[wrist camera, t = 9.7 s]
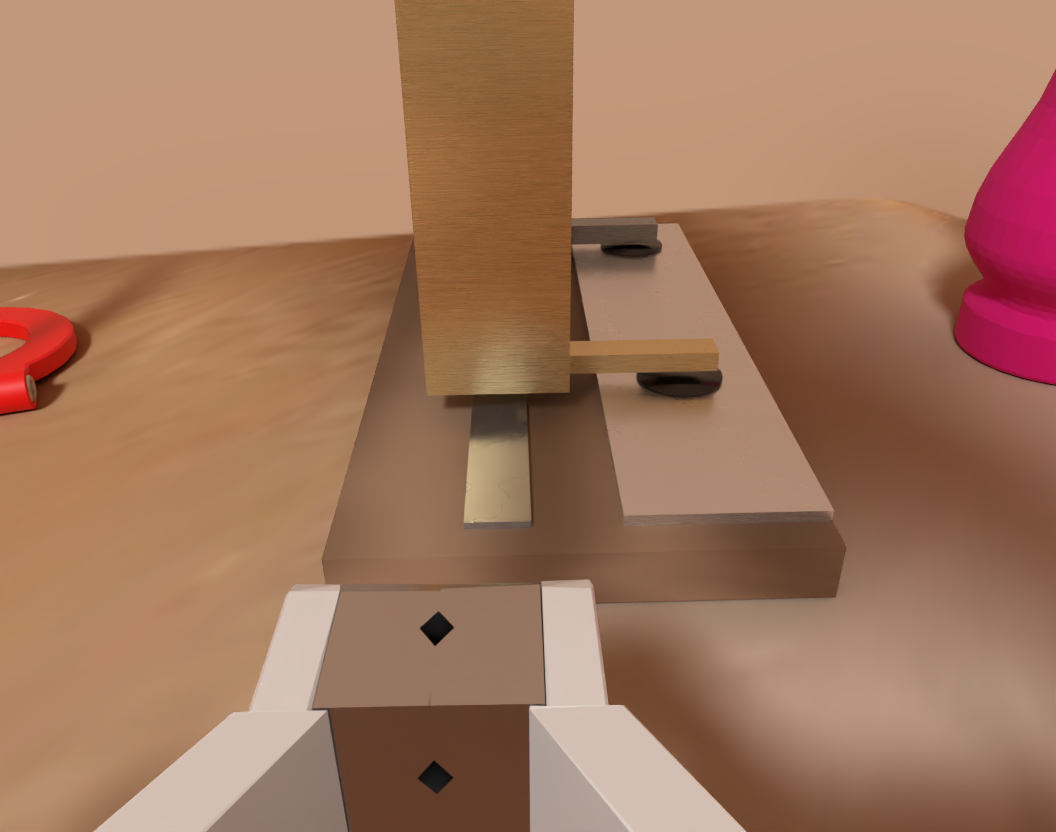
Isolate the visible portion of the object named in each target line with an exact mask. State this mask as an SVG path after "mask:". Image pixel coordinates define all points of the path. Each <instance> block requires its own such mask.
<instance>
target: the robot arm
mask: <svg viewBox="0 0 1056 832" xmlns="http://www.w3.org/2000/svg"><path fill="white" fill-rule="evenodd" d="M93 832H747V831H746V830H745V829H744V828H743V827H742V826H741V825H740V824H739V823H738V822H737V821H736V820H735V819H734V818H733V817H732V816H731V815H730V814H729V813H728V812H727V811H726V810H725V809H724V808H723V807H722V806H721V805H720V804H719V802H718V801H717V800H716V799H715V798H714V797H713V796H712V795H711V794H710V793H709V792H708V791H707V790H706V789H705V788H704V787H703V786H702V785H701V784H700V783H699V782H698V781H697V780H696V779H695V778H694V777H693V776H692V775H691V773H690V772H689V771H688V770H687V769H686V768H685V767H684V766H683V765H682V764H681V763H680V762H679V761H678V760H677V759H676V758H675V757H674V756H673V755H672V754H671V753H670V752H669V751H668V750H667V749H666V748H665V747H664V746H663V745H662V743H661V742H660V741H659V740H658V739H657V738H656V737H655V736H654V735H653V734H652V733H651V732H650V731H649V730H648V729H647V728H646V727H645V726H644V725H643V724H642V723H641V722H640V721H639V720H638V719H637V718H636V717H635V716H634V714H633V713H632V712H631V711H630V710H629V709H628V708H627V707H626V706H625V705H609V703H608V696H607V688H606V680H605V672H604V664H603V657H602V649H601V641H600V633H599V625H598V618H597V610H596V602H595V594H594V587H593V584H592V583H591V582H590V580H589V579H586V580H559V581H541V585H540V583H539V582H525V583H482V584H345V585H317V584H295V585H294V586H293V587H292V589H291V590H290V591H289V592H288V594H287V595H286V597H285V601H284V604H283V607H282V610H281V613H280V616H279V619H278V622H277V625H276V628H275V631H274V634H273V637H272V640H271V644H270V647H269V650H268V653H267V656H266V659H265V662H264V665H263V668H262V671H261V674H260V677H259V680H258V683H257V686H256V690H255V693H254V696H253V699H252V702H251V705H250V708H249V711H248V712H232V713H231V714H230V715H229V716H227V717H226V718H225V719H224V720H223V721H222V722H220V723H219V724H218V725H217V726H216V727H215V728H213V729H212V730H211V731H210V732H209V733H208V734H206V735H205V736H204V737H203V738H202V739H201V740H199V741H198V742H197V743H196V744H195V745H194V746H192V747H191V748H190V749H189V750H188V751H187V752H185V753H184V754H183V755H182V756H181V757H180V758H178V759H177V760H176V761H175V762H174V763H173V764H171V765H170V766H169V767H168V768H167V769H166V770H164V771H163V772H162V773H161V774H160V775H159V776H157V777H156V778H155V779H154V780H153V781H152V782H150V783H149V784H148V785H147V786H146V787H145V788H143V789H142V790H141V791H140V792H139V793H138V794H136V795H135V796H134V797H133V798H132V799H131V800H129V801H128V802H127V803H126V804H125V805H124V806H122V807H121V808H120V809H119V810H118V811H117V812H115V813H114V814H113V815H112V816H111V817H110V818H108V819H107V820H106V821H105V822H104V823H103V824H101V825H100V826H99V827H98V828H97V829H96V830H94V831H93Z"/></svg>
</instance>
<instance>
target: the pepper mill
mask: <svg viewBox="0 0 1056 832" xmlns="http://www.w3.org/2000/svg"><path fill="white" fill-rule="evenodd" d="M964 237H965V242H966V247H967V249H968V251H969V253H970V255H971V257H972V259H973V261H974V263H975V264H976V266H977V267H978V269H979V270H980V272H981V274H982V275H983V278H984V279H982V280H979V281H977V282H975V283H973V284H972V285H970V286H969V287H968V288H967V289H966V290H965V292H964V295H963V299H962V303H961V307H960V311H959V315H958V319H957V323H956V327H955V336H956V339H957V341H958V343H959V344H960V346H961V347H962V348H963V349H964V351H966V352H967V353H968V354H970V355H971V356H972V357H974V358H975V359H977V360H979V361H980V362H982V363H984V364H986V365H988V366H990V367H992V368H995V369H997V370H1000V371H1003V372H1006V373H1009V374H1011V375H1015V376H1018V377H1022V378H1025V379H1029V380H1033V381H1037V382H1043V383H1049V384H1055V385H1056V70H1055V72H1054V73H1053V76H1052V78H1051V79H1050V81H1049V83H1048V85H1047V87H1046V89H1045V91H1044V93H1043V95H1042V97H1041V99H1040V100H1039V102H1038V103H1037V105H1036V106H1035V107H1034V109H1033V110H1032V112H1031V113H1030V115H1029V116H1028V118H1027V119H1026V121H1025V122H1024V123H1023V125H1022V126H1021V128H1020V129H1019V130H1018V132H1017V133H1016V134H1015V136H1014V137H1013V138H1012V140H1011V141H1010V143H1009V144H1008V145H1007V147H1006V148H1005V149H1004V151H1003V152H1002V154H1001V155H1000V156H999V158H998V159H997V160H996V162H995V163H994V165H993V166H992V167H991V169H990V171H989V173H988V175H987V176H986V178H985V180H984V182H983V183H982V185H981V187H980V189H979V191H978V192H977V195H976V197H975V200H974V203H973V205H972V209H971V211H970V215H969V217H968V220H967V223H966V226H965V234H964Z"/></svg>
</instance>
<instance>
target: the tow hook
mask: <svg viewBox="0 0 1056 832" xmlns="http://www.w3.org/2000/svg"><path fill="white" fill-rule="evenodd" d="M0 337H12V338H18V339H23V340H26V341H27V342H26V343H25V344H24V345H23V346H21V347H20V348H18V349H16V350H15V351H13V352H11V353H10V354H7V355H5V356H3V357H0V414H3V413H10V412H17V411H23V410H30V409H35V408H36V406H37V390H36V385H35V381H37V380H39V379H41V378H43V377H45V376H47V375H48V374H50V373H51V372H53V371H54V370H56V369H57V368H59V367H60V366H62V365H63V364H65V363H66V361H67V360H68V359H69V358H70V357H71V356H72V355H73V353H74V352H75V351H76V347H77V337H76V333H75V330H74V326H73V325H72V323H71V322H70V321H69V320H68V319H67V318H66V317H64V316H61V315H59V314H56V313H54V312H51V311H46V310H40V309H34V308H13V307H4V308H0Z"/></svg>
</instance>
